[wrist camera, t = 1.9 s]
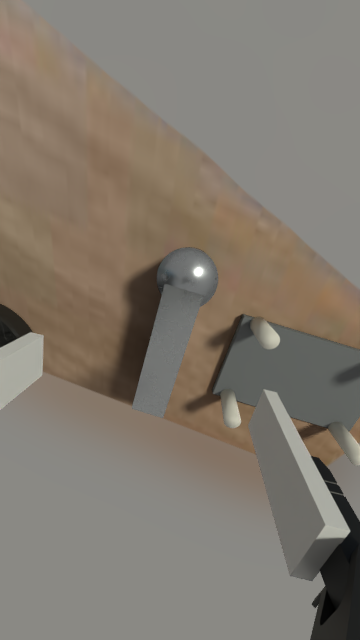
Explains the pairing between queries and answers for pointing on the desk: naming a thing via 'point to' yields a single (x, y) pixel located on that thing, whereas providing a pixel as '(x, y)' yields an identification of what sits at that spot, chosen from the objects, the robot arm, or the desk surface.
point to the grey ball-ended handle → (173, 324)
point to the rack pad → (293, 378)
